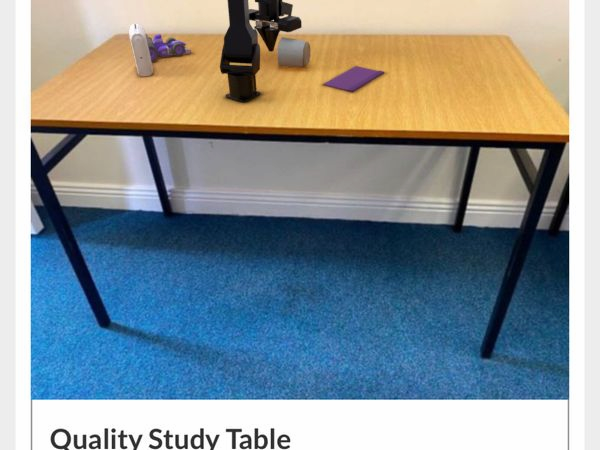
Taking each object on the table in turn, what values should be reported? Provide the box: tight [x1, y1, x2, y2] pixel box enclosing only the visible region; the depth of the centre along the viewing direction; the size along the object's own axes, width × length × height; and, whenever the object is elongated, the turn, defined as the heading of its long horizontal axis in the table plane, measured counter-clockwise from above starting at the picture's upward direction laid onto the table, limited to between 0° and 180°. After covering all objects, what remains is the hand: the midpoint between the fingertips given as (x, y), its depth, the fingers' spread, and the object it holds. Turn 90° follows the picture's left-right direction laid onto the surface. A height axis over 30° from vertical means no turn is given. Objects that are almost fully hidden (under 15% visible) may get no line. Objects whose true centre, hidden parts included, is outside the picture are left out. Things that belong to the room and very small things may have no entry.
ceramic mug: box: [276, 36, 311, 69], centre depth 133 cm, size 11×8×8 cm
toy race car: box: [145, 33, 192, 64], centre depth 143 cm, size 10×15×6 cm, turn 120°
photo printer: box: [128, 23, 154, 77], centre depth 131 cm, size 10×4×12 cm, turn 17°
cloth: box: [322, 65, 385, 94], centre depth 126 cm, size 16×9×1 cm, turn 142°
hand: (271, 51), depth 138 cm, fingers closed
